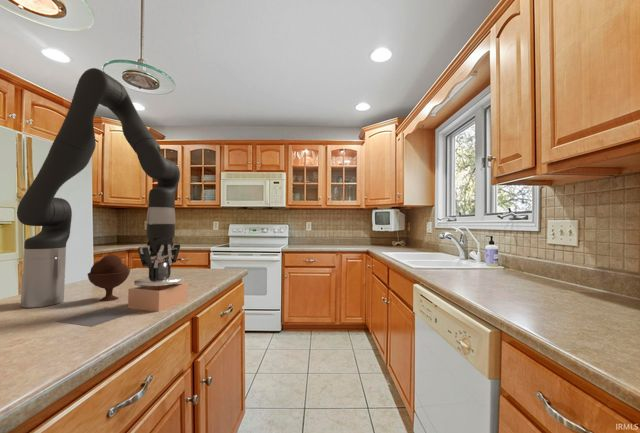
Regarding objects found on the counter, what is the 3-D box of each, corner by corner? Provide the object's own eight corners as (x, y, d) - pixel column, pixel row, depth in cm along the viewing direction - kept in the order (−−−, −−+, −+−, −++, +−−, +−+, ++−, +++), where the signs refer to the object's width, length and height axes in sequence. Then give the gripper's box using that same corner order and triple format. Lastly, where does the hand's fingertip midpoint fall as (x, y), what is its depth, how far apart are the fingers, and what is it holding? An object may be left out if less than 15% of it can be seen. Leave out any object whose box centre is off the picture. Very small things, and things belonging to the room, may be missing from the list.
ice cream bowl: (137, 297, 93) (138, 253, 93) (108, 306, 81) (110, 256, 82) (108, 296, 94) (110, 252, 94) (76, 305, 83) (78, 256, 83)
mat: (55, 323, 67) (55, 321, 67) (105, 309, 79) (105, 307, 79) (91, 329, 64) (92, 326, 64) (138, 313, 76) (138, 311, 76)
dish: (127, 309, 78) (128, 289, 79) (159, 300, 89) (159, 281, 89) (158, 313, 76) (159, 291, 76) (187, 302, 86) (187, 283, 86)
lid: (122, 284, 78) (123, 264, 78) (160, 276, 91) (160, 259, 91) (159, 287, 75) (160, 266, 75) (193, 278, 87) (193, 260, 87)
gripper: (169, 222, 91) (168, 274, 90) (130, 222, 77) (128, 283, 77) (188, 223, 89) (187, 275, 88) (151, 222, 75) (149, 284, 75)
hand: (159, 278), depth 83 cm, fingers closed on lid, 4 cm apart
